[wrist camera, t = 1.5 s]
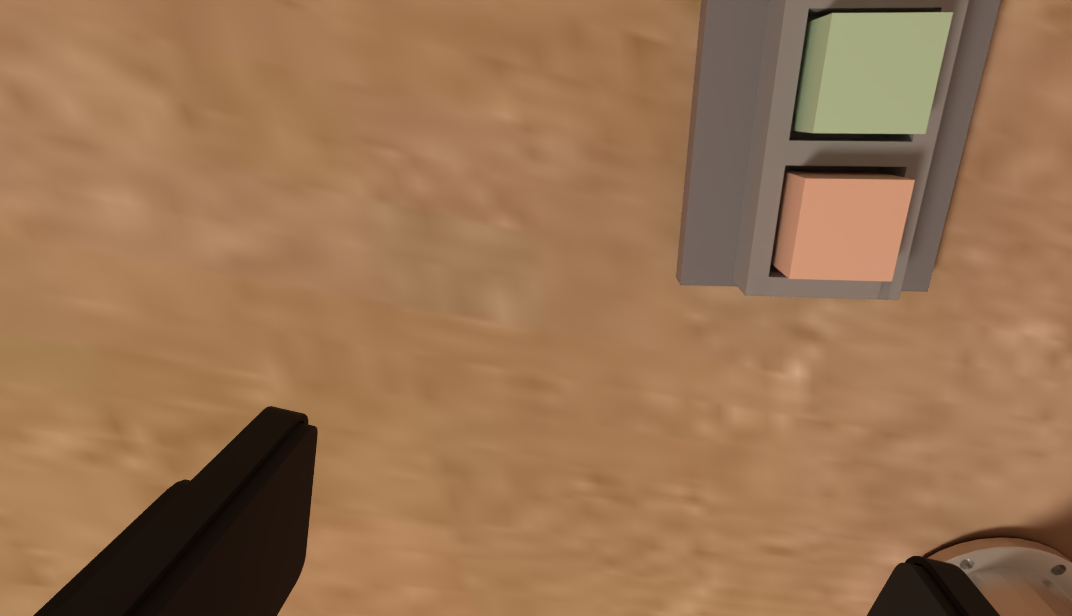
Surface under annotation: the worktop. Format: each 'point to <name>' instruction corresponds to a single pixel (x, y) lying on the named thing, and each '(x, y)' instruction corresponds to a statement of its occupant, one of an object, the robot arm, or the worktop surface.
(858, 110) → the sage key
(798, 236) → the terracotta key
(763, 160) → the console
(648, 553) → the worktop surface
